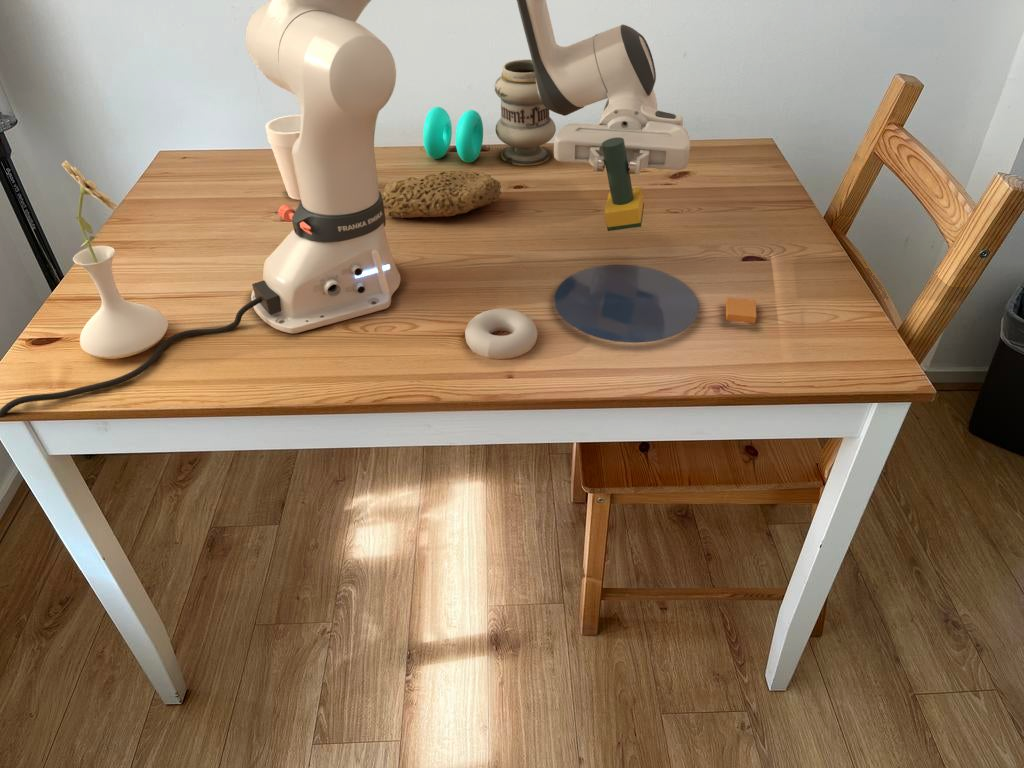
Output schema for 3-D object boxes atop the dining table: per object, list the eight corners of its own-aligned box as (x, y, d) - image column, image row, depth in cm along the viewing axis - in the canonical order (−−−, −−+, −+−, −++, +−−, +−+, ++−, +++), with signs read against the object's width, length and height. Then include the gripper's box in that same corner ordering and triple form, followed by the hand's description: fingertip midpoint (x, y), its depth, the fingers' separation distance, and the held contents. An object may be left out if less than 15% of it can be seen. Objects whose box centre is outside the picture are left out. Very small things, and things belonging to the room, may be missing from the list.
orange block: (725, 325, 109) (727, 313, 108) (724, 308, 113) (727, 297, 111) (754, 328, 109) (756, 316, 107) (752, 311, 112) (755, 299, 111)
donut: (537, 324, 110) (468, 322, 110) (538, 304, 108) (467, 302, 108) (537, 367, 102) (462, 365, 102) (538, 346, 100) (461, 344, 100)
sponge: (385, 233, 134) (495, 216, 130) (373, 188, 131) (485, 169, 127) (405, 212, 146) (507, 196, 141) (395, 171, 142) (499, 153, 138)
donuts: (470, 171, 152) (468, 120, 146) (423, 165, 154) (418, 116, 148) (485, 152, 159) (484, 103, 153) (440, 147, 161) (437, 99, 155)
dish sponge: (641, 226, 113) (628, 148, 106) (607, 231, 114) (592, 154, 107) (644, 205, 118) (632, 129, 111) (612, 209, 119) (598, 135, 113)
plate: (624, 367, 102) (625, 361, 101) (525, 300, 115) (525, 295, 114) (727, 312, 112) (729, 306, 111) (625, 256, 125) (626, 251, 124)
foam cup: (320, 178, 150) (308, 111, 142) (337, 195, 144) (326, 126, 136) (272, 189, 146) (258, 121, 138) (288, 207, 140) (273, 137, 132)
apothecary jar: (484, 158, 156) (480, 67, 145) (519, 140, 164) (519, 52, 153) (531, 173, 151) (532, 79, 139) (566, 154, 158) (569, 62, 147)
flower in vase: (169, 358, 104) (107, 184, 89) (78, 373, 102) (-2, 198, 86) (173, 307, 114) (118, 143, 99) (91, 320, 112) (20, 154, 96)
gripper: (560, 108, 121) (545, 142, 110) (693, 116, 117) (690, 151, 107) (559, 147, 125) (544, 183, 114) (687, 156, 121) (684, 193, 111)
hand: (616, 168), depth 110 cm, fingers closed on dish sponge, 4 cm apart
